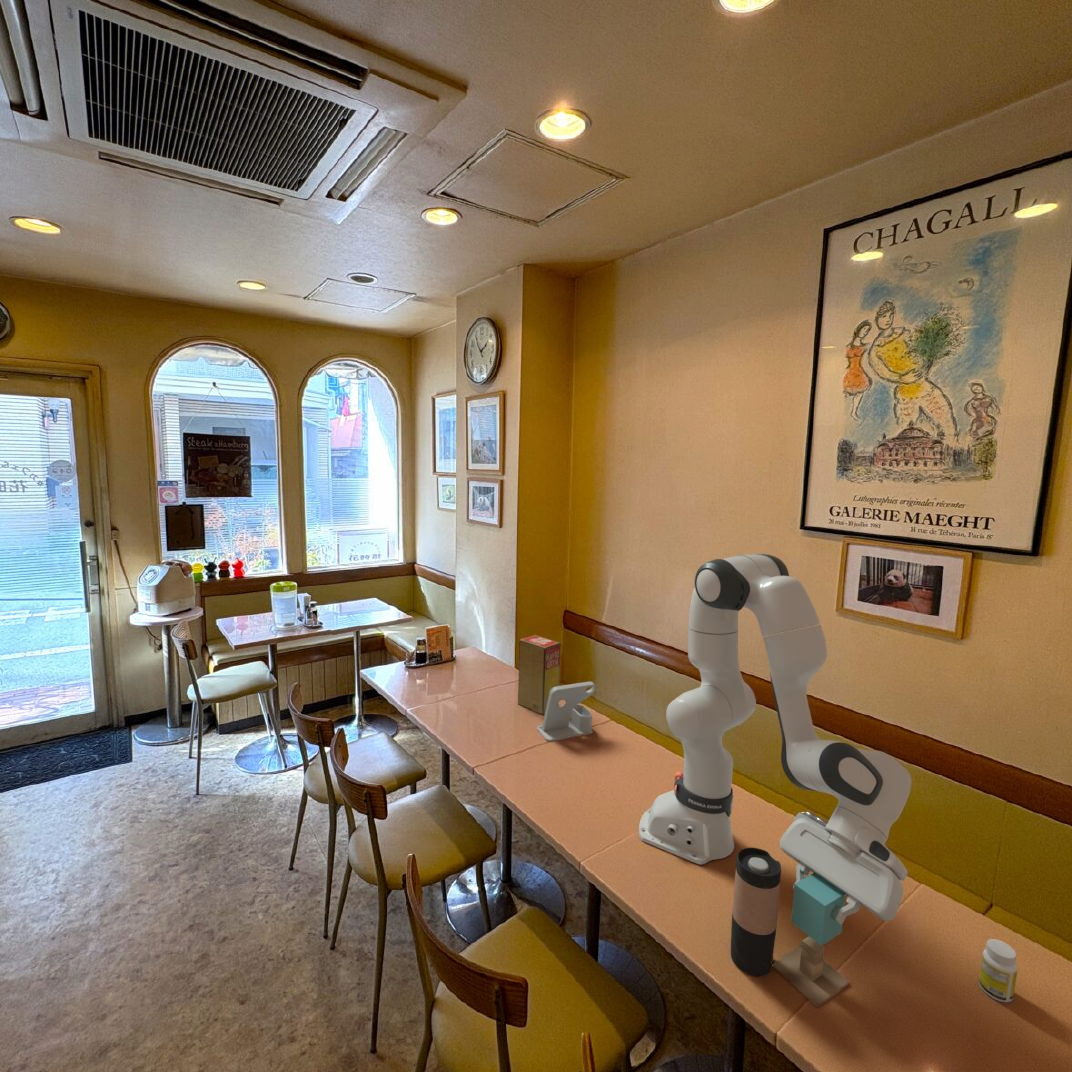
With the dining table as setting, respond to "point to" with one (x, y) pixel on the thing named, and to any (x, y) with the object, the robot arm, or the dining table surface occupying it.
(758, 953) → the travel mug
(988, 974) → the supplement bottle
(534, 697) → the food packaging
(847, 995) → the dining table surface
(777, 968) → the flat square base
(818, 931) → the teal rectangular block
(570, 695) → the phone holder
